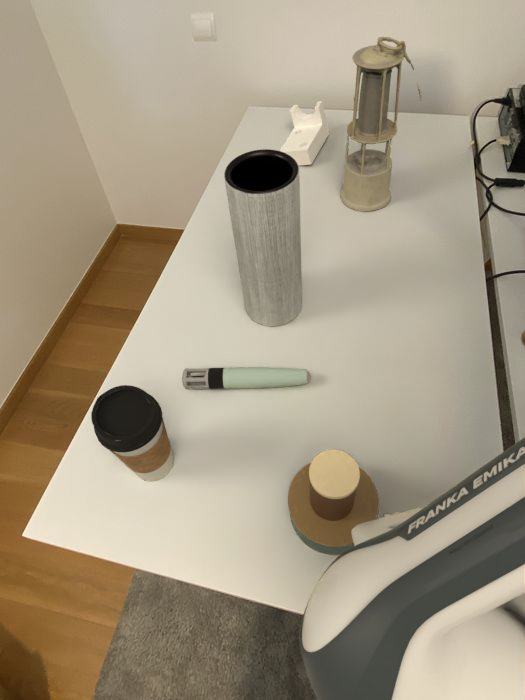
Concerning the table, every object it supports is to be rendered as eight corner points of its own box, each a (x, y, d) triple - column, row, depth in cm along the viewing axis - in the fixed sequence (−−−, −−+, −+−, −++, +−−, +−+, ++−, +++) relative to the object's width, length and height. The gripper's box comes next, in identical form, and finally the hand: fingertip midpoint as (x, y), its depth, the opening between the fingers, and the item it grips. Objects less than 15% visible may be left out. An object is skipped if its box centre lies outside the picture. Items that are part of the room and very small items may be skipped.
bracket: (302, 135, 120) (293, 105, 115) (329, 132, 117) (322, 100, 111) (282, 166, 113) (272, 135, 108) (311, 164, 110) (302, 132, 105)
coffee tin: (382, 484, 67) (387, 471, 64) (364, 568, 61) (367, 559, 58) (303, 461, 70) (302, 447, 67) (277, 538, 64) (275, 528, 61)
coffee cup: (149, 426, 75) (118, 371, 63) (194, 451, 72) (171, 398, 60) (113, 472, 71) (72, 423, 59) (159, 501, 68) (126, 455, 56)
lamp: (338, 182, 107) (346, 27, 83) (400, 178, 106) (426, 20, 82) (342, 213, 101) (352, 55, 77) (407, 209, 100) (438, 49, 76)
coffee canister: (359, 485, 63) (365, 457, 56) (348, 528, 60) (353, 504, 53) (316, 472, 64) (317, 443, 58) (303, 513, 61) (302, 488, 55)
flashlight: (310, 359, 78) (184, 361, 80) (310, 372, 74) (178, 374, 76) (310, 377, 80) (187, 379, 81) (311, 391, 76) (181, 393, 77)
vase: (289, 277, 91) (282, 141, 70) (311, 316, 86) (311, 180, 64) (237, 294, 90) (214, 160, 68) (256, 334, 84) (237, 201, 62)
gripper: (385, 617, 38) (347, 566, 51) (634, 547, 39) (532, 515, 53) (363, 532, 38) (331, 504, 52) (607, 467, 40) (514, 456, 54)
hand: (434, 509), depth 52 cm, fingers open, 8 cm apart
